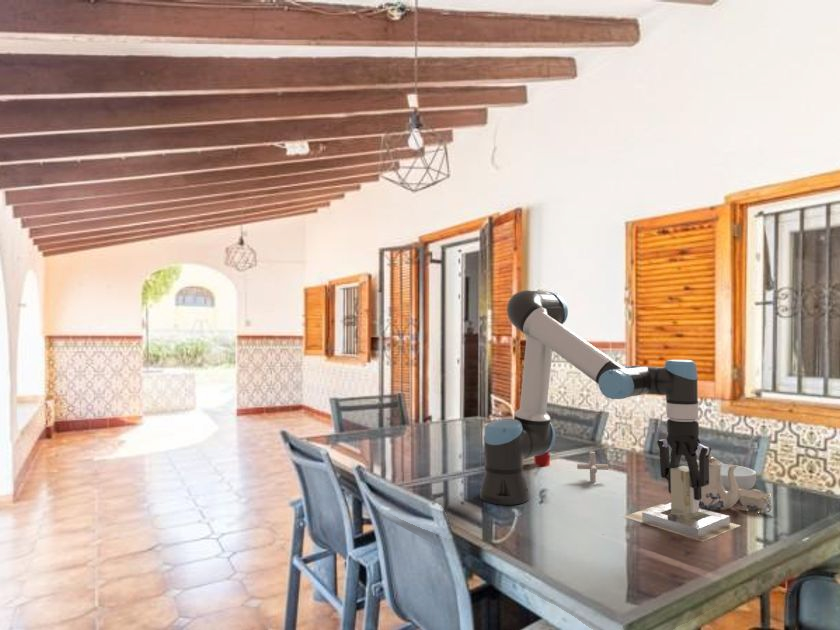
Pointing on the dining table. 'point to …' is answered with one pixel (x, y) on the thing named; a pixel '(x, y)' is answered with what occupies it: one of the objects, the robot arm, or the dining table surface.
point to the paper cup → (542, 459)
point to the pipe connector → (592, 467)
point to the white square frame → (701, 528)
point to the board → (638, 517)
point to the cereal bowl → (738, 477)
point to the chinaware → (729, 492)
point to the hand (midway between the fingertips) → (685, 509)
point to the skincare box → (681, 492)
